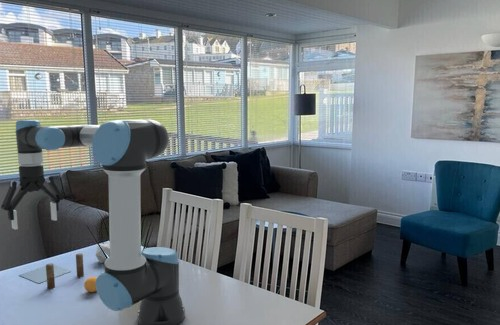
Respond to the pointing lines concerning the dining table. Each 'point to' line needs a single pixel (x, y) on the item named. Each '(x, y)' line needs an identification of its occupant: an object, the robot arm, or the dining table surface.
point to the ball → (90, 284)
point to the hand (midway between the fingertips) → (35, 224)
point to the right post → (79, 265)
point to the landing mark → (43, 274)
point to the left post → (50, 276)
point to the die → (100, 255)
